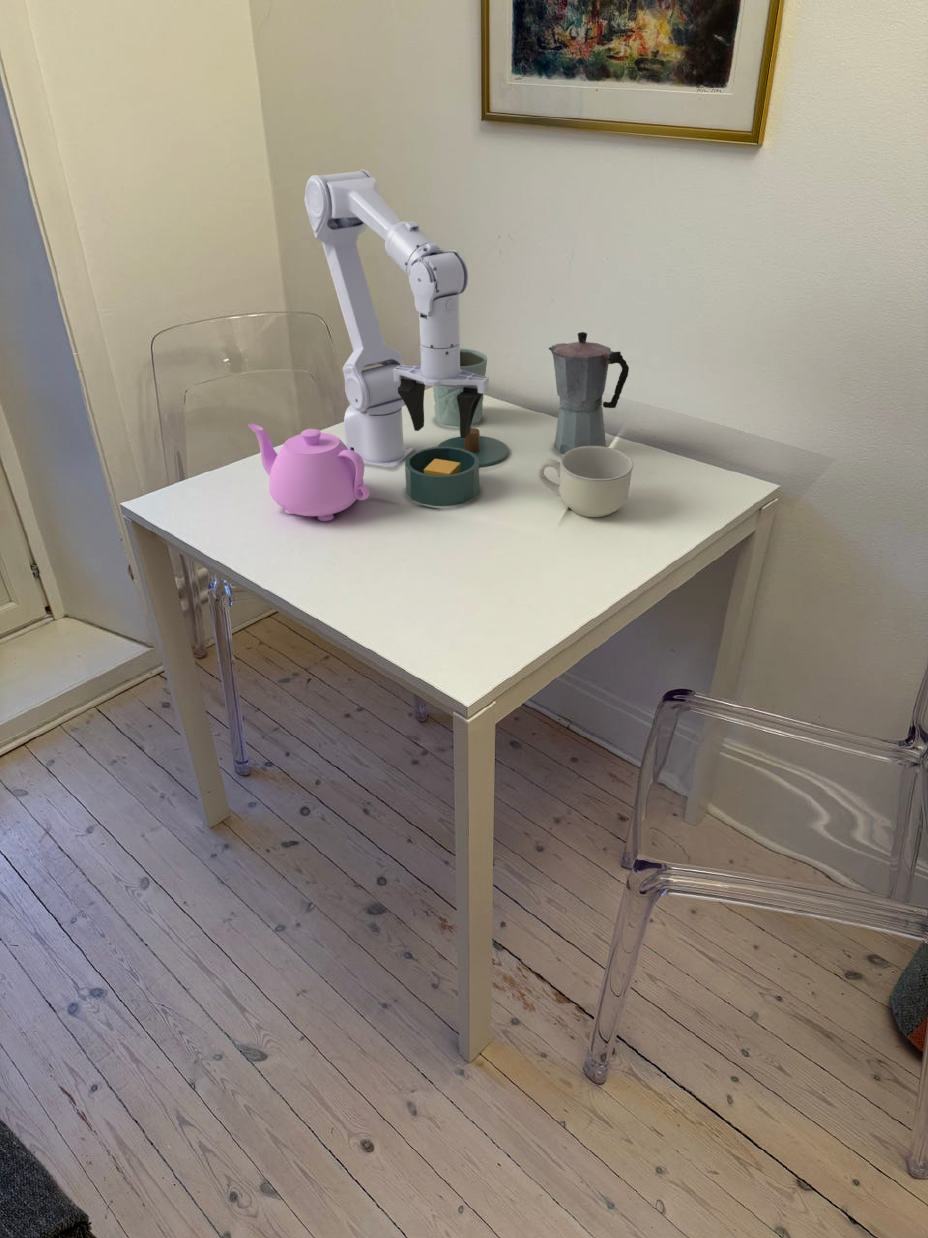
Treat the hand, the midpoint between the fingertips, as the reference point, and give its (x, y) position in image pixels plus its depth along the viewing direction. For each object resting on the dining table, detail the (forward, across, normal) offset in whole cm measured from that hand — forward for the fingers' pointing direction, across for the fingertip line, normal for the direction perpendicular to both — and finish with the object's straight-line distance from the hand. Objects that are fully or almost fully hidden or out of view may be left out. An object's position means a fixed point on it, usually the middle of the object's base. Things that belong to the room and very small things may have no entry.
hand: (441, 431), depth 135 cm
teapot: (+10, -17, -12) cm, 23 cm away
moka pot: (+10, +16, +24) cm, 30 cm away
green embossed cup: (+10, -9, +28) cm, 32 cm away
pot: (+10, 0, 0) cm, 10 cm away
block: (+10, 0, 0) cm, 10 cm away
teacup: (+10, +22, +3) cm, 24 cm away
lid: (+9, -1, +14) cm, 17 cm away
